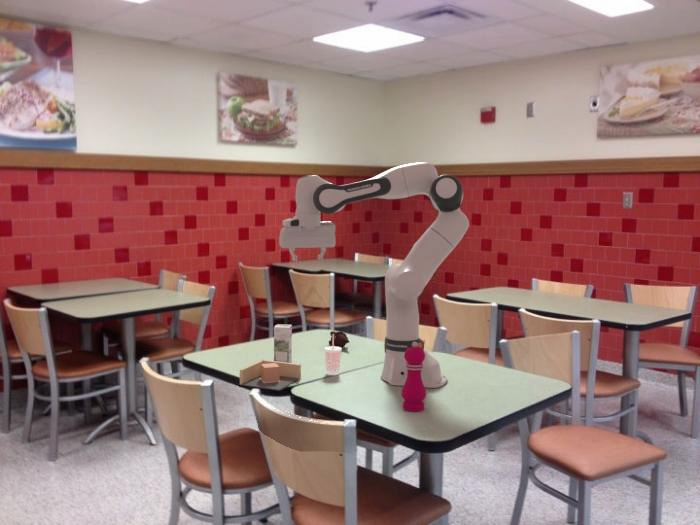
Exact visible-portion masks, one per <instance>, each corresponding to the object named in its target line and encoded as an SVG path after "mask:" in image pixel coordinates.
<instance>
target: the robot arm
mask: <svg viewBox="0 0 700 525" xmlns="http://www.w3.org/2000/svg"><path fill="white" fill-rule="evenodd" d="M463 187H464V186H463V185H462V183H461V180H459V179H458V178H457V177H456V176H454V175H452V174H441V175H439V174H438V170H437V168H436V167H435V165H434V164H433V163H431V162H430V161H429V162H423V161H422V162H420V161H419V162H414V163H413V162H411V163H407V164H402V165H399V166H398V165H397V166H395V167H392V168H389V169H387V170H385V171H383V172H381V173H379V174H377V175H375V176H373V177H371V178H368V179H366V180H361V181H357V182H352V183H348V184H342V185H338V184H333V183H332V182H329V181H327V180H325V179H323V178H322V177H320V176H319V175H317V174H312V175H311V174H310V175H304V176H301V177H299V178H298V180H297V182H296V186H295V204H296V209H295V216H292V217H289V218H287V219H283V220H282V221H281V222H282V226H283V227H281V229H280V233H279V239H278V244H279V246H280V248H281V249H282V248H283V249H288V251H289V253H290V255H291V258H292V261H293V262H297V261H299V260H298V258H299V256H298V255H296V254H295V251H296V250H295V249H301V248H302V249H304V248H305V249H309V248H314V249H315V248H316V249H317V248H320V253H319V254H318V255H317V261H324V255H325V253H326V251H327V248H334V247H335V246H336V224H335V223H334V222H332V221H321V220H322V219H321V216H322V215H321V213H322V214H327V215H330V214H333V213H337V212H340V211H342V210H343V209H344V208H345V207H346V205H348V204H352V203H356V202H360V201H364V200H369V199H383V200H384V199H385V200H397V199H405V198H409V197H413V196H417V195H425V196H426V197H427V198H428V200H429V202H430V204H431V206H432V207H433V208H434V210H435V211H436V212H437V213H438V214H437V216H436V218H435V220H434V221H433V223H432V224H431V225H430V226H429V227H428V228H427V229H426V230H425V231H424V233H423V234H422V235H421V236H420V238H418V239H417V241H416V242H415V243H414V244H413V245H412V248H411V249H410V250H409V252H408V254H407V255H406V257H405V258H404V260H403V261H402V262H401V263H400V262H399V263H396V264H393V265H391V266H390V267H389V268H388V269H387V271H386V272H385V275H384V294H385V311H386V325H385V326H386V328H385V329H386V333H385V334H386V335H385V337H384V344H383V345H384V346H383V349H384V354H385V355H384V362H383V367H382V371H381V375H380V380H383V381H385V382H387V383H388V384H389V385H391V386H400V387H401V386H402V387H403V386H404V384H405V382H406V379H407V373H408V371H407V368H406V363H407V361H406V360H405V358H404V354H405V351H406V350H407V349H408V348H409V347H413V346H412V343H413V342H417V343H418V346H417V347H419V348H421V349H423V351H424V353H425V359H424V361H423V362H422V363H423V369H422V370H421V379H422V382H423V385H424V387H425V388H429V389H437V388H441V387H443V386H444V385H445V384H447V383H448V377H447V376H446V375H445V374H442V370H441V366H440V363H439V361H438V360H437V359H436V358H435V357H434V356H432V355H431V354H430V353H429V352H428V351H427V350H425V344H426V340H425V339H424V340H422V339H421V338H420V337H419V336H420V334H419V333H420V332H419V330H420V313H419V304H418V297H420V296H421V294H422V293H423V291H424V289H425V287H426V286H427V285H428V283H429V282H430V280H431V279H432V277H433V276H434V274H435V272H436V271H437V269H438V268H439V267H440V266H441V265H442V263H443V262H444V260H446V258H448V256H449V255H450V254H451V253H452V251H454V249H455V248H456V247H457V245H459V243H460V242H461V240H462V239H463V237H464V236H465V234H466V233H467V231H468V229H469V227H470V221H469V219H468V217H467V215H466V214H465V213H464V212H463V211H462V210H461V207H462V204H463V199H464V188H463Z"/></svg>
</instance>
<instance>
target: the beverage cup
mask: <svg viewBox="0 0 700 525" xmlns="http://www.w3.org/2000/svg"><path fill="white" fill-rule="evenodd" d="M323 349H324V354H325V373H326V375H328V376H337V375H340V369H341V368H340V367H341V355H342V351H343V350H342V349H343V348H341V347H336V346H334V334H333V340H332V345H329V346H325V347H324V348H323Z"/></svg>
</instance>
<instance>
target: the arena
mask: <svg viewBox="0 0 700 525" xmlns="http://www.w3.org/2000/svg"><path fill="white" fill-rule="evenodd" d="M268 363H276V364H277V365H278V366H280V368H279V381H277V382H267V383H265V382H264V381H263V380H262V379H261V364H268ZM301 379H302V364H300V363H293V362H291V363H285V362H277V361H274V360H267V359H260V360H259V361H256V362H254V363H252V364H249V365H247V366H245V367H243V368H241V369H239V385H240V386H243V387H250V388H257V389H262V390H264V389H265V390H271V391H277V392H280V391H282V390H284V389H285V388H287V387H289V386H291V385H292V383H293V384H294V383H296V382H297V381H298V382H299V381H300V380H301ZM295 381H296V382H295ZM290 384H291V385H290ZM288 385H289V386H288Z"/></svg>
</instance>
